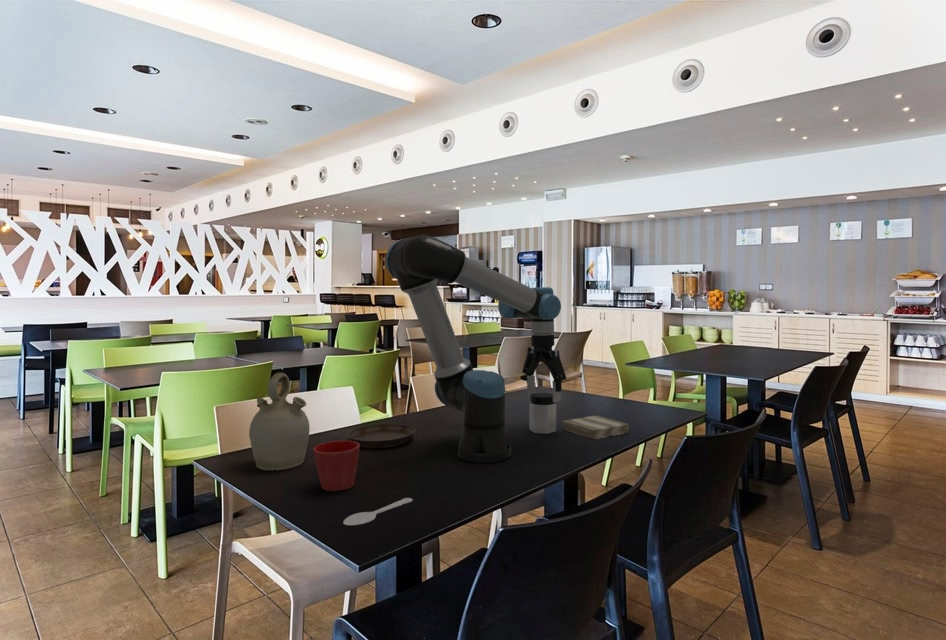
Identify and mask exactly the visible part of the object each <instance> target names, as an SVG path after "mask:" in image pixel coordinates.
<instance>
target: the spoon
mask: <svg viewBox="0 0 946 640" xmlns="http://www.w3.org/2000/svg"><path fill="white" fill-rule="evenodd" d="M413 501H414V499H413V498H411V497H405V498H401V500H398V501H395V502H392V503H391V504H388V505H386V506H383V507H380V508H379V509H376V510H374V511H361V512H357V513H353V514H350V515H349V516H347V517H346V518H345V519H343V523H342V524H343V525H345V526H360V525H364V524H367V523H370V522H372V521H373V520H375V519H376V518H377V515H378V514H380V513H384V512H386V511H388V510H392V509H394V508H398V507H401V506H403V504H404V505H406V504H409V503H412V502H413Z"/></svg>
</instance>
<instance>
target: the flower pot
mask: <svg viewBox="0 0 946 640" xmlns="http://www.w3.org/2000/svg"><path fill="white" fill-rule="evenodd" d="M360 448H361V446H360V445H359V443H357V442H354V441H351V440H332V441H327V442H322V443H319V444H317V445H316V446H314V447H313V455H314V460H315V466H316V471H317V475H318V479H319V483H320V487H321V489H323V490H324V491H328V492H339V491H342V490H343V491H344V490H348V489H350V488H352V487H353V486H354V485H355V480H356V474H357V471H358V462H359V456H360V455H359V454H360Z"/></svg>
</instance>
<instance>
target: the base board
mask: <svg viewBox="0 0 946 640" xmlns="http://www.w3.org/2000/svg"><path fill="white" fill-rule="evenodd" d="M629 429H630V425H629V423H626V422H622V421H619V420H614V419H611V418H607V417H604V416H600V415H597V414H596V415H591V416H586V417H585V416H583V417H579V418H572V419H571V418H570V419H567V420H562V431H566V432H568V433H569V432H570V433H571V432H572V434H574V435H578V436H581V437H583V438H588V439H590V438H591V439H590V440H593V439H594V441H595V439H596V440H601V439H605V438H606V439H607V438H611V437H610V436H612V437H616V435H617V436H621V434H622V435H626V434H625V433H627V434H629ZM600 438H601V439H600Z"/></svg>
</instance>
